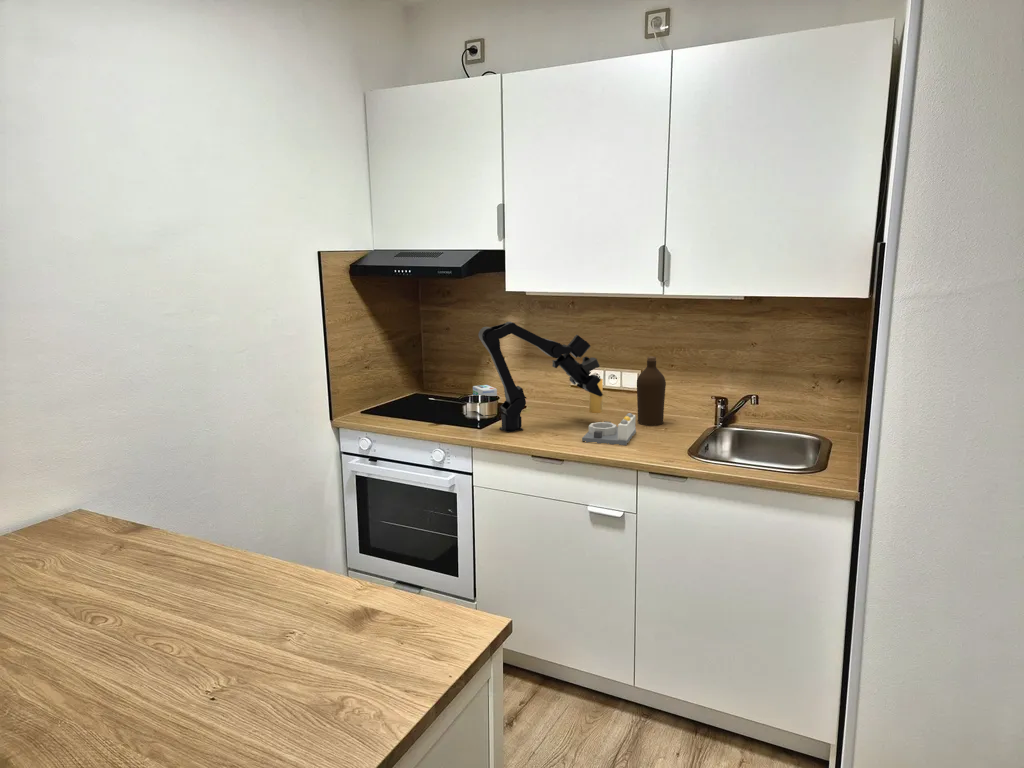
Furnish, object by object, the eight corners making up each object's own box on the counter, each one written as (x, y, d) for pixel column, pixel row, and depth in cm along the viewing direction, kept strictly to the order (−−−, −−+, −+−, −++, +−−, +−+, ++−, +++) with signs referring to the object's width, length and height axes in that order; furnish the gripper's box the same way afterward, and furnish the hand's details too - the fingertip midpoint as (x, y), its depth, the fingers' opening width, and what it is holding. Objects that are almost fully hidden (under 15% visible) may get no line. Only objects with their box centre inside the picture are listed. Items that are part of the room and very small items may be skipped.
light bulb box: (472, 411, 281) (472, 385, 279) (487, 409, 283) (487, 384, 281) (482, 416, 271) (482, 390, 269) (498, 414, 274) (497, 388, 272)
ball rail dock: (582, 442, 231) (582, 419, 230) (594, 429, 248) (594, 408, 246) (626, 445, 226) (626, 422, 224) (635, 432, 242) (636, 410, 241)
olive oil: (652, 427, 249) (653, 359, 244) (630, 422, 257) (631, 357, 252) (670, 422, 255) (672, 356, 251) (648, 418, 263) (649, 354, 259)
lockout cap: (594, 413, 253) (594, 380, 251) (586, 411, 258) (586, 378, 255) (605, 412, 256) (605, 379, 253) (597, 409, 260) (597, 377, 258)
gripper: (595, 354, 243) (623, 382, 247) (577, 347, 260) (604, 374, 265) (574, 377, 242) (603, 405, 247) (557, 369, 260) (584, 395, 265)
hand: (599, 394), depth 256 cm, fingers closed on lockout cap, 5 cm apart
